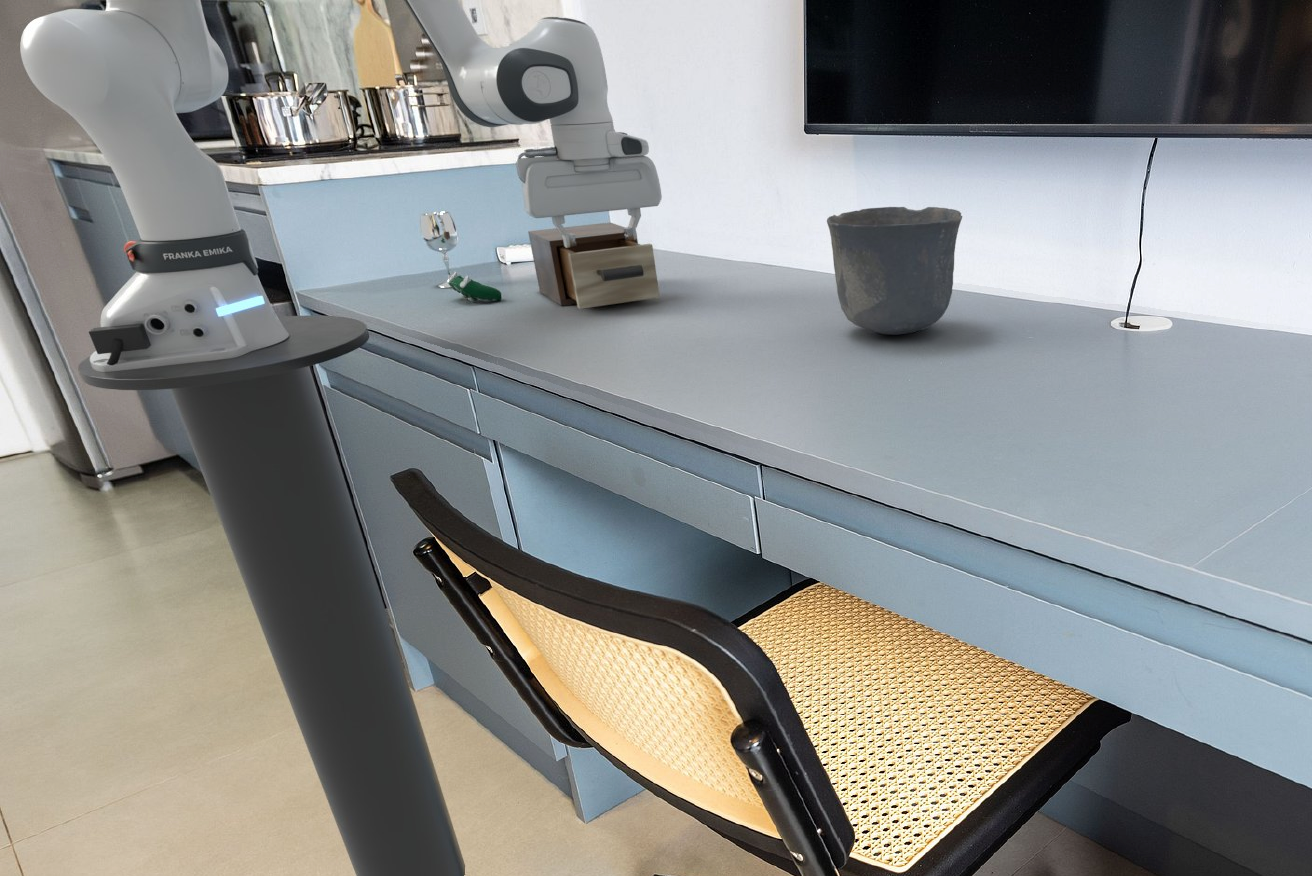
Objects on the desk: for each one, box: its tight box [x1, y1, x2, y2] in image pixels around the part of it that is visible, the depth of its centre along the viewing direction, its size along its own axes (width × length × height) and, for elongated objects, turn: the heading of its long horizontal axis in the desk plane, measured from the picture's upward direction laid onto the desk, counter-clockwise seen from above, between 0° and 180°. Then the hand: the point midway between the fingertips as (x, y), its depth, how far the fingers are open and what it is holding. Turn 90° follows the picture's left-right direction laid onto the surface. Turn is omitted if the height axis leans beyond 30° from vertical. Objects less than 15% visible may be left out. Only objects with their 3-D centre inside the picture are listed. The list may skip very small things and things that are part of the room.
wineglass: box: [419, 211, 459, 289], centre depth 174 cm, size 6×6×12 cm
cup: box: [826, 206, 963, 336], centre depth 129 cm, size 18×18×15 cm
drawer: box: [556, 239, 661, 310], centre depth 154 cm, size 17×13×8 cm
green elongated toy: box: [448, 271, 503, 303], centre depth 163 cm, size 9×4×6 cm
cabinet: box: [527, 221, 639, 307], centre depth 163 cm, size 14×14×10 cm
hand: (601, 243), depth 153 cm, fingers open, 8 cm apart
